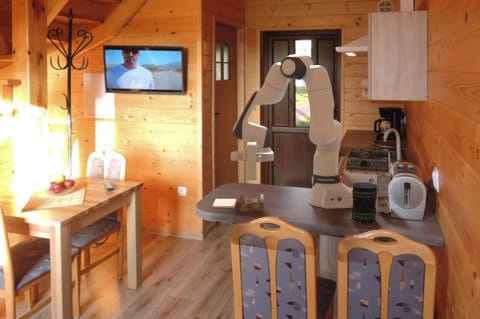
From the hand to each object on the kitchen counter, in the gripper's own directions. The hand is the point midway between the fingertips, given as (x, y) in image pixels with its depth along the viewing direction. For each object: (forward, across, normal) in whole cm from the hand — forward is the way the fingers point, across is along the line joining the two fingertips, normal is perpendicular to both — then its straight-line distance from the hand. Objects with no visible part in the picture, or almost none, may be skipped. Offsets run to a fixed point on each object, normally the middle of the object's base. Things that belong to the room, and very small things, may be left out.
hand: (251, 158), depth 224 cm
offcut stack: (+8, 0, +22) cm, 23 cm away
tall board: (-1, 0, +9) cm, 9 cm away
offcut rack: (+2, 0, +22) cm, 22 cm away
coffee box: (+6, +59, +22) cm, 63 cm away
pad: (-1, -13, +22) cm, 25 cm away
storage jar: (+22, +47, +22) cm, 56 cm away
